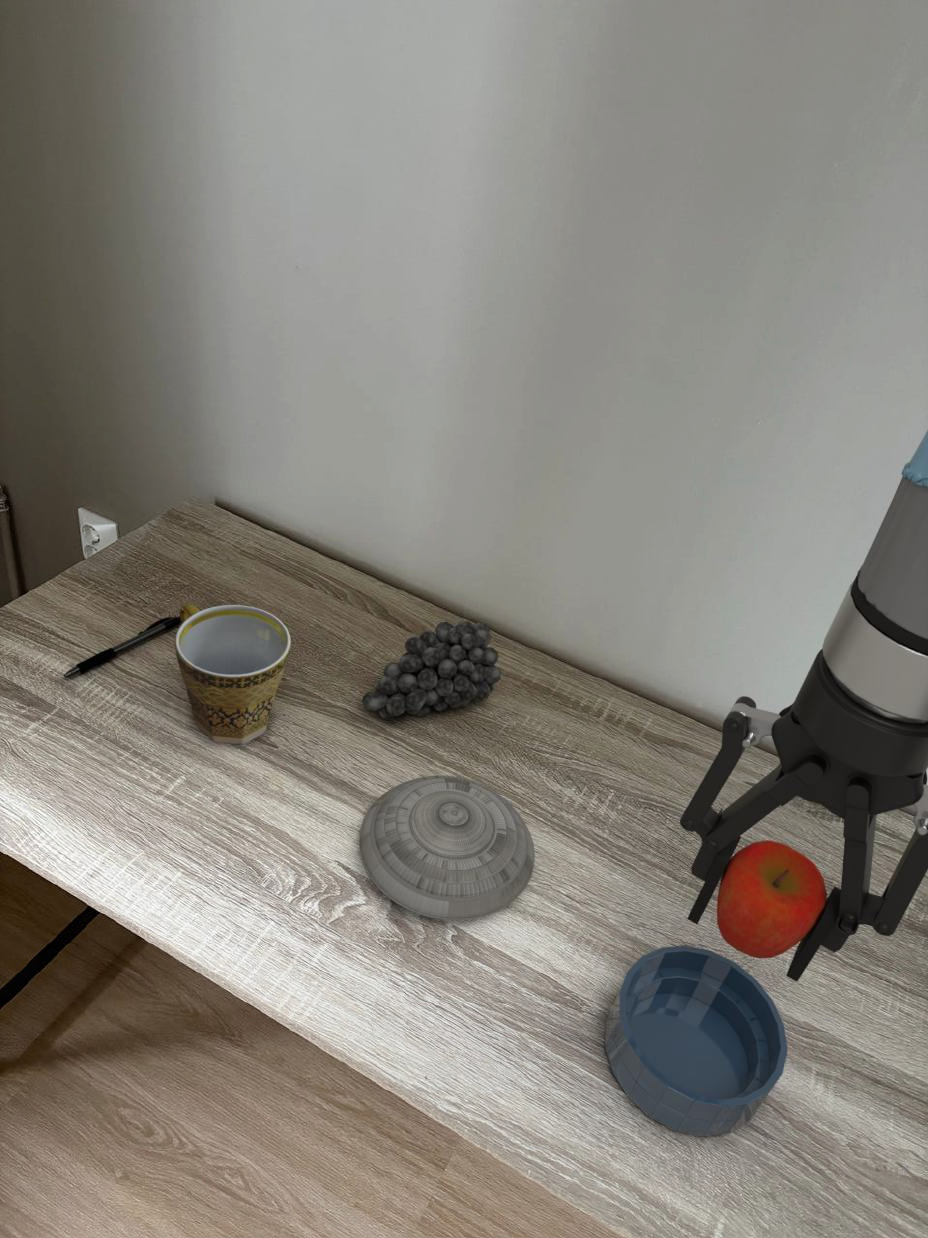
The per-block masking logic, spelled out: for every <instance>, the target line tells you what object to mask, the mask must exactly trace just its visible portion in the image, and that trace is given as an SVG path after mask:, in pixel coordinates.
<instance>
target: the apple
mask: <svg viewBox="0 0 928 1238" xmlns="http://www.w3.org/2000/svg"><path fill="white" fill-rule="evenodd" d="M827 898H828V893H827V888H826V883H825V877H824V876H823V874H822V873H821V871H820V870H819V868H818V866H817V864H816V863H814V862H813V861H812V860H811V859H810V858H808V857H807V856H806V855H805V854H802V853H801V852H799V851H797V850H796V849H794V848H792V847H791V846H788V845H786V844H785V843H783V842H779V841H774V840H769V839H765V840H760V841H754V842H752V843H750V844H749V845H747V846H744V847H743V848H741V849H739V850H738V851H736V852H735V853H733V855H732V857H731V859H730V860H729V862H728V864H727V866H726V868H725V870H724V873H723V875H722V877H721V879H720V881H719V886H718V892H717V902H716V923H717V928H718V930H719V933H720V935H721V938H722V939H723V940H724V941H725V942H726V944H728V945H729V946H731V947H732V948H733V949H734V950H736V951H738V952H740V953H742V954H744V955H746V956H748V957H751V958H757V959H772V958H775V957H777V956H780V955H783V954H784V953H786V952H788V951H789V950H790V949H792V948H793V947H794V946H796V945H797V944H799V943H800V942H801V940H802V939H803V938H804V937H805V936H806V935H807V934H808V933H809V932H810V930H811V929H812V928H813V927H814V926H815V925H816V923H817V921H818V919H819V918H820V916H821V914H822V912H823V910H824V908H825V905H826V900H827Z"/></svg>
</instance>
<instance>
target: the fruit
mask: <svg viewBox="0 0 928 1238" xmlns="http://www.w3.org/2000/svg"><path fill="white" fill-rule="evenodd" d="M492 638H493V636H492V634H491V630H490V626H489V625H487V624H486V623H484V622H482V621H480V622H479V621H478V622H476V623H474V624H472V623H471V622H470V621H469V620H460V621H459V622H458V623H457V624H456V625H453V624H452V623H451V622H449V621H440V622H438V623H437V624H436V628H435V630H434V631H432V630H426V631H423V632H421V634H420V635H419V636H415V635H414V636H410V637H409V638H408V639H407V640H406V641H405V643H404V648H405V650H406V652H405V653H403V654H402V655H401V656H400V658H399V661H398V662H389V663H387V664H386V665H385V667H384V669H383V676H381V678H380V679H379V680H378V682H377V684H376V685H375V687H374V691H368V692H366V693H365V694H364V695H363V696H362V699H361V703H362V705H363V708H364V709H365V710H366V711H367V712H374V711H375V712H376V711H378V714H379V716H380V717H381V719H383V720H387V721H392V720H394V719H396V717H399V716H400V715H402V714H404V712H406V713H408V714H409V715H416V716H418V717H422V718H423V717H426V715H428V714H429V713H430V711H431V706H432V707H433V708H434V711H436V712H437V711H438V712H443V711H446V710H447V708H448V706H449V708H452V709H459V708H461V707H462V708H464V707H466V706H468V705H469V704H470V702H471V700H473V699H475V700H477V701H485V700H488V698H489V696H490V694H491V693H492V692H493V691H494V684H496V683H498V682H499V681H500V680H501V672H502V671H501V670H500V668H499V666H497V665H495V664H496V663H497V662H498V660H499V657H502V654H500V653H499V652H498V651H497V650H496V649H495V648H494V647H492V646H489V645H491V642H492Z"/></svg>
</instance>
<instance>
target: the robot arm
mask: <svg viewBox="0 0 928 1238" xmlns="http://www.w3.org/2000/svg"><path fill="white" fill-rule="evenodd" d="M900 475H902V476H901V479H900V482H899V483H898V485H897V489H896V491H895V493H894V496H893V498H892V500H891V502H890V504H889V507H888V508H887V511H886V513H885V515H884V517H883V520H882V522H881V524H880V526H879V528H878V530H877V532H876V535H875V537H874V539H873V541H872V542H871V543H872V544H871V545H870V547H869V549H868V552H867V554H866V557H865V558H864V561H863V563H862V565H861V566H860V568H859V570H858V571H857V574H856V575H855V578H854V580H853V581H852V583H851V584H850V585H849V586H848V589H847V591H846V592H845V596H844V597H843V599H842V602H841V603H840V605H839V608H838V610H837V612H836V614H835V616H834V618H833V620H832V622H831V624H830V626H829V628H828V631H827V633H826V635H825V636H824V640H823V643H822V646H821V647H822V648H821V649H820V650H819V651H818V652H817V654H816V656H815V658H814V660H813V662H812V664H811V666H810V668H809V670H808V673H806V677H805V678H804V681H803V683H802V684H801V686H800V689H799V691H798V693H797V695H796V697H795V700H794V701H793V703H791V704H790V705H788V706H786V707H784V708H783V709H782V710H781V711H780V712H779V713H776V712H771V711H768V710H764V709H759V708H757V703H756V702H755V700H754V699H753V698H752V697H750V696H745V695H742V696H739V697H738V698H737V699H736V701H735V703H734V704H733V706H732V708H731V709H730V711H729V712H728V714H727V716H726V717H725V719H724V720H723V723H722V732H721V733H722V734H721V747H720V749H719V751H718V752H717V754H716V756H715V758H714V760H713V761H712V762H711V763H712V764H710V767H709V769H708V770H707V772H706V773H705V775H704V777H703V778H702V781H701V782H700V784H699V786H698V787H697V789H696V791H695V793H693V794H694V795H693V797H691V800H690V802H689V803H688V805H687V807H686V808H685V810H684V812H683V814H682V815H681V817H680V819H679V824H680V826H681V828H682V829H684V830H685V831H687V832H689V833H694V832H695V833H696V834H697V835H698V836H699V837H700V839H701V845H700V847H699V849H698V851H697V854H696V856H695V858H694V861H693V862H692V865H691V867H690V870H691V871H690V873H691V875H693V876H694V877H696V878H698V880H699V879H700V880H701V881H703V884H702V886H701V888H700V891H699V892H698V895H697V897H696V899H695V902H694V903H693V905H692V907H691V909H690V912H689V913H688V916H687V918H686V919H687V920H688V921H689V922H691V923H693V924H695V925H698V924H699V922H700V920H701V918H702V917H703V914H704V913H705V911H706V909H707V907H708V905H709V903H710V901H711V899H712V897H713V895H714V893H715V892H716V889H717V887H718V885H719V884H720V881H721V877H722V875H723V873H724V870H725V868H726V866H727V864H728V862H729V860H730V859H731V858H732V857H733V855H734V854H735V851H736V849H737V847H738V845H739V843H740V840H741V839H742V835H743V834H744V833H746V832H748V830H750V829H751V828H752V827H754V826H755V825H757V824H758V823H759V822H761V820H763V819H764V818H766V817H767V816H768V815H770V814H772V812H773V811H775V810H776V809H777V808H779V807H780V806H781V807H784V806H785V805H787V804H788V803H789V802H791V801H792V800H793V799H795V798H796V797H799V798H801V799H803V800H805V801H808V802H810V803H814V804H817V805H821V806H822V807H823V808H825V809H826V810H827V811H829V812H830V813H831V814H832V815H834V816H837V817H838V818H840V819H843V830H842V831H843V832H842V837H843V838H844V843H843V855H842V869H841V882H840V888H839V887H836V886H834V887H833V888H832V890H831V891H830V893H829V894H828V895H827V900H826V905H825V908H824V910H823V912H822V914H821V916H820V918H819V919H818V921H817V923H816V925H815V926H814V927H813V928H812V929H811V930H810V932H809V933H808V934H807V935H806V936H805V937H804V938H803V939H802V940H801V941H800V942H798V945H797V947H796V949H795V952H794V954H793V956H792V959H791V962H790V965H789V967H788V970H787V972H786V975H785V976H786V977H787V978H789V979H791V980H793V981H794V982H795V983H798V982H799V981H800V979H801V977H802V976H803V974H804V972H805V971H806V969H807V968H808V966H809V964H810V963H811V961H812V960H813V958H814V957H815V955H816V953H818V951H819V949H820V947H823V948H824V949H827V950H828V951H830V952H832V953H835V954H836V952H839V951H841V950H842V948H843V946H844V944H846V942H847V940H848V939H849V937H850V936H854V935H856V934H857V932H858V928H859V927H860V925H865V926H870V927H872V928H873V931H874V932H875V933H877V934H878V935H881V936H883V937H890V936H893V935H894V934H895V932H896V930H897V928H898V926H899V925H900V922H901V920H902V919H903V917H904V915H905V913H906V911H907V909H908V907H909V906H910V904H911V902H912V900H913V898H914V896H915V895H916V893H917V891H918V889H919V887H920V885H921V883H922V881H923V880H924V879H925V878H924V877H925V876H926V873H927V872H928V784H927V783H928V773H927V769H928V429H927V431H926V432H925V434H924V435H923V438H922V439H921V441H920V443H919V444H918V446H917V448H916V450H915V451H914V454H913V455H912V457H911V459H910V460H909V461H908V462H907V463H905V464H904V466H903V467H902V470H901V473H900ZM768 736H769V737H771V739H772V741H773V744H774V748H775V750H776V754H777V756H778V757H777V758H778V759H779V764H778V765H777V766H776V767H775V768H773V770H772V771H770V772H769V773H768V774H766V775H765V776H764V777H763V778H761V780H759V781H758V782H757V783H756V784H754V785H753V786H751V788H749V789H748V790H747V791H745V793H743V794H742V795H741V796H739V797H738V798H737V799H736V800H735V801H733V802H732V803H731V804H730V805H728V806H727V807H725V808H724V809H723V808H720V810H718V811H719V812H717V811H716V810H715V809H714V808H713V807H712V806H713V805H714V803H715V801H716V799H717V798H718V796H719V794H720V792H721V791H722V789H723V788H724V786H725V784H726V783H727V781H728V779H729V778H730V776H731V774H732V772H733V771H734V769H735V767H736V766H737V764H738V763H739V761H740V759H741V758H742V756H743V754H744V752H745V750H746V749H750V748H751V747H755V746H758V745H759V744H760V743H761V740H762V739H763V738H765V737H768ZM910 806H913V807H914V808H915V813H914V816H913V819H912V823H913V825H914V826H915V830H914V831H913V833H912V836H911V838H910V840H909V841H908V843H907V846H906V848H905V849H904V851H903V853H902V855H901V857H900V859H899V861H898V863H897V866H895V869H894V870H893V872H892V875H891V877H890V879H889V881H888V882H887V885H886V886H885V889H884V891H883V892H882V895H878V894H874V893H870V890H871V888H870V887H871V877H872V870H873V869H872V868H873V859H874V858H873V857H874V847H875V846H874V845H875V835H876V825H877V816H878V815H881V814H884V813H888V812H891V811H895V810H899V809H902V808H906V807H910Z"/></svg>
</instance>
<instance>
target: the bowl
mask: <svg viewBox="0 0 928 1238" xmlns="http://www.w3.org/2000/svg"><path fill="white" fill-rule="evenodd" d="M612 1003H613V1004H612V1006H611V1008H610V1011H609V1013H608V1016H607V1019H606V1021H605V1034H604V1035H605V1037H604V1038H605V1039H604V1041H605V1042H604V1043H605V1044H604V1046H605V1047H604V1048H605V1051H606V1054H607V1058H608V1061H609V1065H610V1068H611V1071H612V1073H613V1075H614V1078H616V1080H617V1082H618V1083H619V1085H620V1087H621V1089H623V1091H624V1093H625V1094H626V1096H627V1097H628V1099H629V1100H631V1102H632V1103H634V1104H635V1105H636V1106H637V1107H638V1108H639V1109H640V1110H641V1111H642V1112H644V1114H646V1116H647V1117H649V1118H650V1119H652V1120H654V1121H656V1122H657V1123H659V1124H661V1125H663V1126H665V1127H667V1128H669V1129H671V1130H673V1131H675V1132H678V1133H683V1134H686V1135H687V1134H689V1135H692V1136H697V1137H712V1136H719V1135H720V1136H721V1135H727V1134H730V1133H732V1132H734V1131H736V1130H737V1129H739V1128H741V1127H743V1126H745V1125H746V1124H747V1123H749V1122H750V1121H751V1120H752V1118H753V1117H754V1116H755V1114H756V1113H757V1112H758V1110H759V1109H760V1107H761V1106H762V1104H763V1103H764V1102H765V1100H766V1098H767V1097H768V1096H769V1094H770V1093H771V1091H772V1090H773V1088H774V1087H775V1085H777V1082H778V1081H779V1080H780V1079H781V1077H782V1076H783V1074H784V1070H785V1065H786V1061H787V1056H788V1042H787V1037H786V1029H785V1024H784V1021H783V1020H782V1016H781V1015H780V1012H779V1011H778V1009H777V1006H776V1004H775V1002H774V1000H773V999H772V998H771V996H770V995H769V994H768V992H767V991H766V990H765V988H764V987H763V985H761V983H759V981H758V980H757V979H756V978H755V977H754V976H752V974H750V973H749V972H748V971H746V970H745V968H742V967H741V966H740V965H739V964H738V963H737V962H735V961H733V960H732V959H729V958H727V957H725V956H723V955H720V953H719V954H718V953H717V952H714V951H712V950H710V949H705V948H700V947H695V946H690V945H685V944H684V945H673V946H662V947H660V948H658V949H655V950H653V951H651V952H648V953H646V954H644V955H642V956H641V957H640V958H639V959H638V960H637V961H636V962H635V963H634V964H633V965H632V966H631V967H630V968H629V969H628V970H627V972H626V973H625V975H624V978H623V981H622V983H621V985H620V987H619V990H618V992H617V994H616V996H615V999H614V1001H613V1002H612Z"/></svg>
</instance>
